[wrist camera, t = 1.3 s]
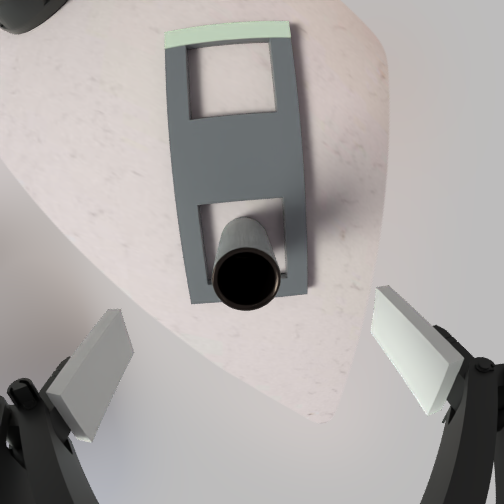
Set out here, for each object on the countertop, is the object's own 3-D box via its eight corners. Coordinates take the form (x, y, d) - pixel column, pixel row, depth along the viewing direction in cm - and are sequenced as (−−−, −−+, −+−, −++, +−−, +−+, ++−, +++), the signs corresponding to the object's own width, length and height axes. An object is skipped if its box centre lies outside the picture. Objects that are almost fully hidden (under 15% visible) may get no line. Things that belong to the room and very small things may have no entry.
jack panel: (167, 37, 22) (164, 32, 20) (286, 27, 22) (288, 21, 20) (193, 298, 30) (191, 305, 29) (305, 289, 30) (307, 294, 29)
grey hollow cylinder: (230, 209, 27) (225, 236, 18) (274, 227, 28) (292, 262, 18) (214, 252, 29) (201, 298, 19) (256, 267, 29) (264, 320, 19)
